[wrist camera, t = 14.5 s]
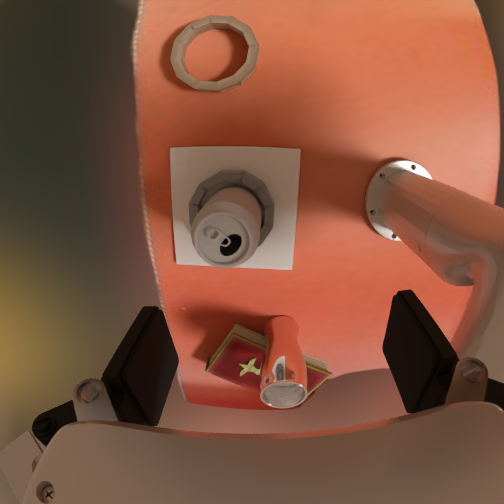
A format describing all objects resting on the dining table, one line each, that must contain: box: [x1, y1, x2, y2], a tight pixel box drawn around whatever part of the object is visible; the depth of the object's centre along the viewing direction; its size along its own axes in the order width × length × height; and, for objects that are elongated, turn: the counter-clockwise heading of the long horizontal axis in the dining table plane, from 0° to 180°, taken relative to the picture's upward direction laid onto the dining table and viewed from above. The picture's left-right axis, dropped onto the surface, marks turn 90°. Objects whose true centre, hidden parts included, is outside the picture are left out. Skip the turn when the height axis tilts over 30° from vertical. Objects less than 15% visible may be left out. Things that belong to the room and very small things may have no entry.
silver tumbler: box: [260, 316, 308, 408], centre depth 41 cm, size 7×7×15 cm
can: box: [191, 185, 262, 268], centre depth 34 cm, size 8×8×12 cm
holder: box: [170, 146, 301, 270], centre depth 38 cm, size 18×18×3 cm
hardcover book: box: [205, 323, 332, 395], centre depth 50 cm, size 12×21×4 cm, turn 61°
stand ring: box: [170, 16, 259, 93], centre depth 30 cm, size 11×11×2 cm
